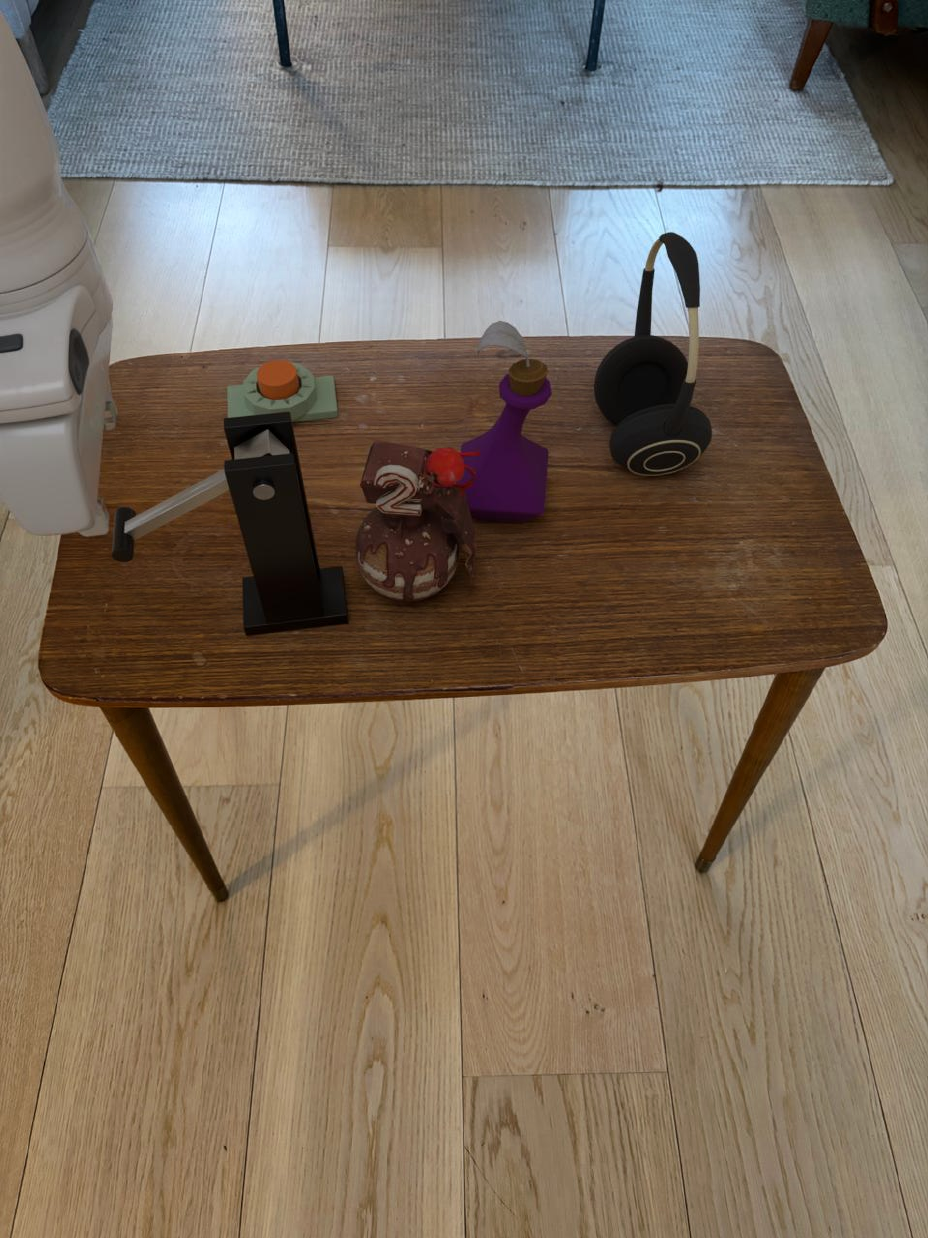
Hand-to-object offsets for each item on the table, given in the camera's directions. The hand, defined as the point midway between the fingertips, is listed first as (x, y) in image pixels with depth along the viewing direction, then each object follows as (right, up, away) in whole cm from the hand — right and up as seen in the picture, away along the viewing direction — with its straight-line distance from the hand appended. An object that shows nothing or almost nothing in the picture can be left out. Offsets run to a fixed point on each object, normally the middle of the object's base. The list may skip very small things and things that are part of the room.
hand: (101, 473), depth 64 cm
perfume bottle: (+27, 0, +21) cm, 34 cm away
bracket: (+10, -8, +14) cm, 19 cm away
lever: (+6, -2, +4) cm, 7 cm away
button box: (+7, +11, +28) cm, 31 cm away
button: (+7, +12, +26) cm, 29 cm away
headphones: (+40, +6, +25) cm, 47 cm away
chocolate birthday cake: (+20, -7, +16) cm, 26 cm away
